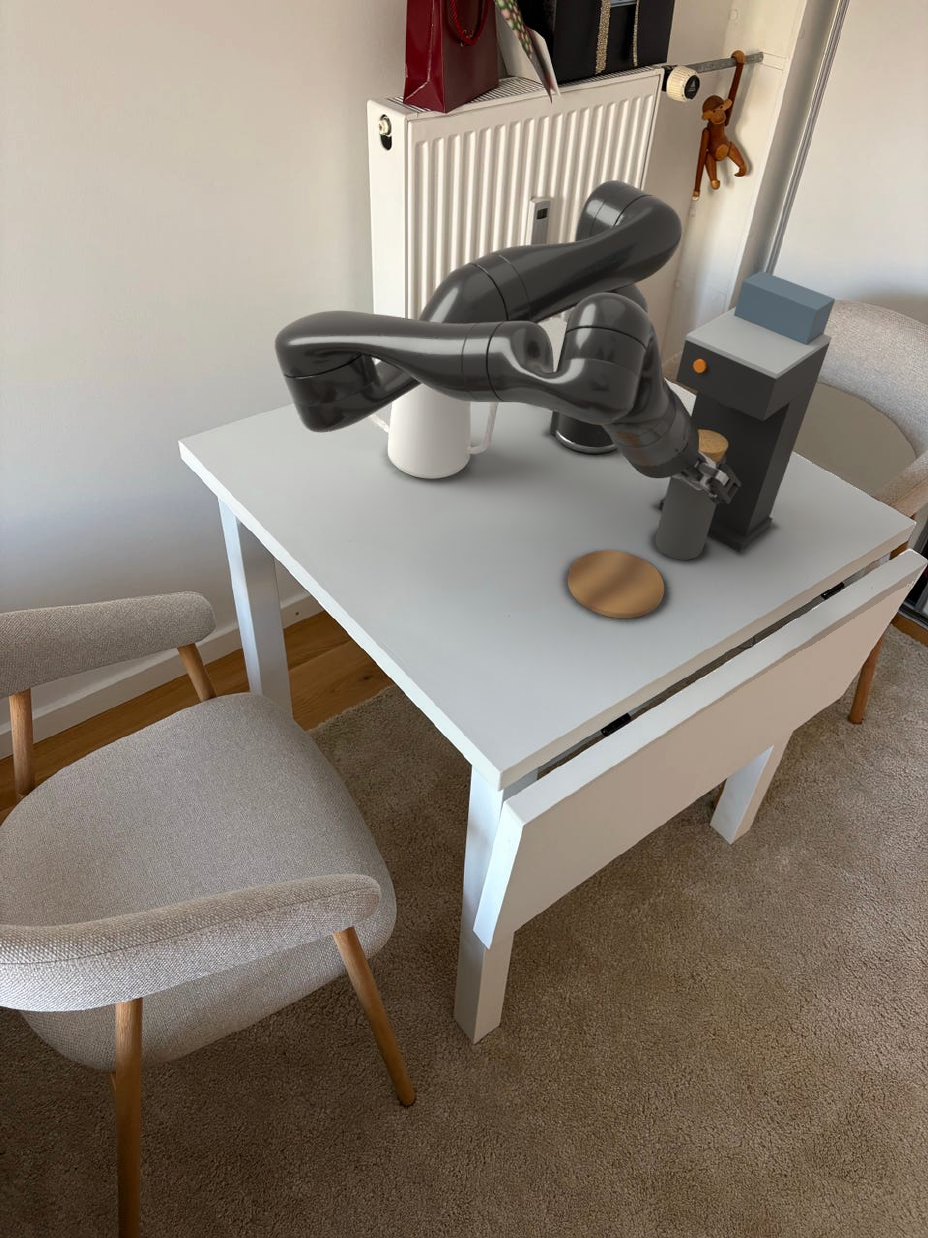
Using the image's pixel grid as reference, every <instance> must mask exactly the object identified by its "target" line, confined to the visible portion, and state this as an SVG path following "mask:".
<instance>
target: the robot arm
mask: <svg viewBox="0 0 928 1238" xmlns="http://www.w3.org/2000/svg"><path fill="white" fill-rule="evenodd" d="M682 236H683V224H682V219H681V217H680V215H679V214H678V212H677V211H676V209H674V207H672V205H670V204H669V203H667V202H666V201H664V200H662V199H661V198H660V197H657V196H655V195H653V194H652V193H651V194H650V193H648V192H647V191H644V190H642V189H640V188H638V187H636V186H634V185H631V184H630V183H627V182H625V181H622V180H618V179H613V180H607V181H604V182H602V183H601V184H599V185H598V186H596V187H595V188H594V189H593V190H592V191H591V193H590V194H589V196H588V197H587V198H586V200H585V202H584V204H583V206H582V209H581V210H580V213H579V217H578V221H577V225H576V231H575V238H574V241H569V242H568V241H567V242H557V243H556V242H555V243H538V244H525V245H524V244H523V245H516V246H508V247H504V248H501V249H498V250H497V249H496V250H494V251H492V252H489V253H487V254H485V255H483V256H481V257H478V258H476V259H474V260H471V261H470V262H467V263H465V264H463V265H461V266H460V267H457V268H455V269H454V270H452V271H451V272H449V274H447V275H446V276H445V277H444V279H443V280H442V281H441V282H440V283H439V284H438V285H437V288H435V290H434V291H433V293H432V295H430V298H429V299H428V300H427V302H426V304H425V306H424V307H423V309H422V311H421V313H420V314H419V316H418V318H417V319H415V318H409V317H408V318H407V317H402V316H396V315H395V316H394V315H387V314H378V313H370V312H363V311H354V310H353V311H352V310H325V311H319V312H315V313H312V314H308V315H306V316H303V317H300V318H298V319H296V320H294V321H292V322H290V323H289V324H287V325H286V326H284V327H283V328H282V329H281V330H279V332H278V333H277V335H276V336H275V339H274V351H275V355H276V359H277V362H278V364H279V368H280V370H281V373H282V375H283V378H284V381H285V383H286V386H287V389H288V392H289V394H290V397H291V399H292V403H293V405H294V408H295V410H296V411H297V412H296V413H297V415H298V416H299V419H300V421H301V423H302V425H303V426H304V427H305V428H306V429H307V430H309V431H310V432H313V433H330V432H334V431H338V430H342V429H344V428H347V427H350V426H352V425H355V424H357V423H359V422H361V421H362V420H366V419H367V418H366V417H368V416H370V415H372V414H374V413H375V414H376V413H377V412H378V411H380V410H382V409H384V408H385V407H387V406H389V405H390V404H392V402H393V401H395V400H397V399H398V398H400V397H401V396H403V395H404V394H406V393H408V392H409V391H411V390H412V389H414V388H416V387H417V386H419V385H420V384H422V383H423V384H424V385H426V386H428V387H429V388H431V389H433V390H435V391H437V392H439V393H441V394H444V395H446V396H448V397H451V398H454V399H458V400H462V401H470V403H471V402H472V403H491V402H498V403H521V404H525V405H531V406H535V407H540V408H543V409H547V410H549V411H552V413H551V418H550V419H551V420H550V427H549V435H550V434H551V435H553V436H555V437H556V439H557V441H558V442H560V443H561V444H562V445H563V446H565V447H566V448H569V449H571V450H574V451H576V452H581V453H585V454H605V453H609V452H611V451H613V450H616V449H617V450H618V451H619V452H620V453H621V455H622V456H623V457H624V458H625V459H626V460H627V462H628V463H629V464H630V465H631V466H632V468H634V469H635V470H636V471H637V473H639V474H641V475H643V476H645V477H647V478H651V479H666V478H671V477H673V478H677V479H679V480H681V481H682V482H684V483H685V484H686V485H688V486H689V487H690V488H693V489H696V490H703V491H704V492H705V493H706V494H707V495H708V497H709V498H710V499H711V501H712V502H714V503H716V504H719V503H720V502H722V503H727V504H729V503H730V501H731V499H732V497H733V496H734V494H735V493H736V491H737V489H738V488H739V487H740V485H741V483H740V481H739V480H738V479H737V477H736V476H735V474H734V473H733V471H732V470H731V468H730V467H728V465H727V464H725V463H724V464H723V463H720V464H719V465H718V467H717V469H716V463H715V462H714V461H712V460H711V459H710V458H708V457H707V456H706V455H705V454H703V453H702V452H701V451H700V450H699V432H698V428H697V426H696V424H695V422H694V420H693V419H692V417H691V414H690V412H689V410H688V409H687V408H686V406H685V404H684V403H683V400H682V399H681V398H680V396H679V395H678V394H677V393H676V392H675V390H673V389H672V388H671V387H670V385H669V383H668V382H667V380H666V379H665V377H664V375H663V368H662V358H661V353H660V347H659V343H658V342H659V341H658V337H657V332H656V330H655V326H654V324H653V321H652V319H651V318H650V317H649V315H648V311H649V304H648V300H647V298H646V296H645V295H644V293H642V291H641V289H640V288H639V287H638V285H637V283H639V282H640V283H641V282H642V281H644V280H646V279H648V278H651V276H652V277H653V275H655V274H656V273H658V272H659V271H661V270H662V268H664V267H665V266H666V265H667V264H668V263H669V262H670V260H671V259H672V258H673V257H674V255H675V253H676V251H678V248H679V246H680V243H681V241H682V238H683V237H682ZM570 309H572V311H571V312H570V314H569V316H568V319H567V322H566V327H565V331H564V335H563V341H562V345H561V349H560V353H559V357H558V361H557V365H556V366H557V367H556V369H555V370H554V365H555V364H554V353H553V351H554V350H553V346H552V342H551V339H550V337H549V334H548V332H547V331H546V330H545V328H544V327H542V326H541V325H540V324H541V323H543V322H545V321H547V320H549V319H551V318H554V317H555V316H558V315H560V314H562V313H565V312H566V311H568V310H570ZM374 359H375V360H378V362H377V363H376V364H375V361H374ZM687 476H695V478H694V479H693V480H691V479H690V478H688V477H687ZM708 478H709V479H710V480H709V481H708V483H707V485H706V481H707V479H708Z"/></svg>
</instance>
